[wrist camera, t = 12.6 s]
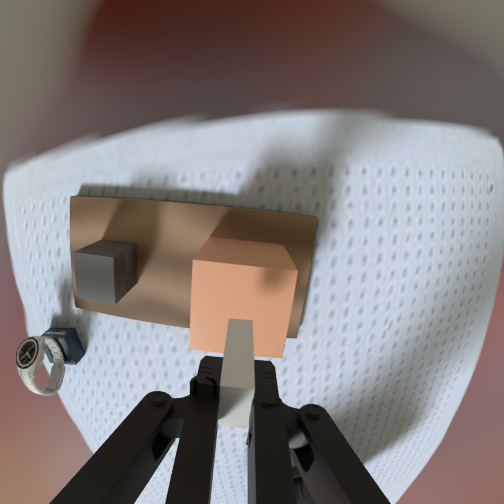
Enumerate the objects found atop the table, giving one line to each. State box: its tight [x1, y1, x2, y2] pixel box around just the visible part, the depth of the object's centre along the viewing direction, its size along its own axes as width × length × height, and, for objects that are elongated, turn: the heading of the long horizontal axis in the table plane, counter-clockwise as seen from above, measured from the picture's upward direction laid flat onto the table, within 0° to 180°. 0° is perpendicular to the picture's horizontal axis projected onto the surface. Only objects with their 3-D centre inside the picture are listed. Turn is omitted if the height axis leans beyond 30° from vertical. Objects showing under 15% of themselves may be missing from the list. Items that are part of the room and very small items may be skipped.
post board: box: [70, 196, 318, 338], centre depth 27 cm, size 14×28×8 cm, turn 84°
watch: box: [16, 328, 85, 396], centre depth 28 cm, size 6×8×11 cm
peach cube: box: [190, 237, 298, 358], centre depth 26 cm, size 8×8×9 cm
